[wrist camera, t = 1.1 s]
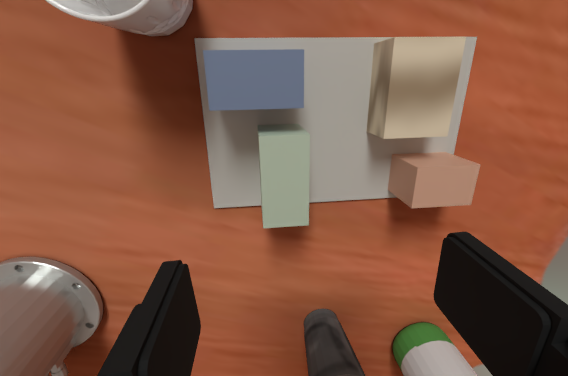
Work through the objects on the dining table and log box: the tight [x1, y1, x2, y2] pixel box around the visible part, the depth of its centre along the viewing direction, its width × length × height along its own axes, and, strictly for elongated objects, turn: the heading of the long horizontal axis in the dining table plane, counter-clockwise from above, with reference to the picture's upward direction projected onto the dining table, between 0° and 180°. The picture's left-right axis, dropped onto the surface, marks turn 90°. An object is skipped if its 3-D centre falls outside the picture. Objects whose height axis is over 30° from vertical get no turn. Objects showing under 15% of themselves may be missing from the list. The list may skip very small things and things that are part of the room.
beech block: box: [367, 37, 466, 139], centre depth 26 cm, size 8×6×4 cm
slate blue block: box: [203, 49, 304, 111], centre depth 23 cm, size 7×4×6 cm, turn 91°
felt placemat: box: [194, 37, 477, 208], centre depth 28 cm, size 16×26×1 cm, turn 91°
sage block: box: [257, 124, 310, 228], centre depth 26 cm, size 8×4×6 cm, turn 1°
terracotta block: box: [388, 152, 480, 209], centre depth 28 cm, size 4×6×5 cm, turn 91°
